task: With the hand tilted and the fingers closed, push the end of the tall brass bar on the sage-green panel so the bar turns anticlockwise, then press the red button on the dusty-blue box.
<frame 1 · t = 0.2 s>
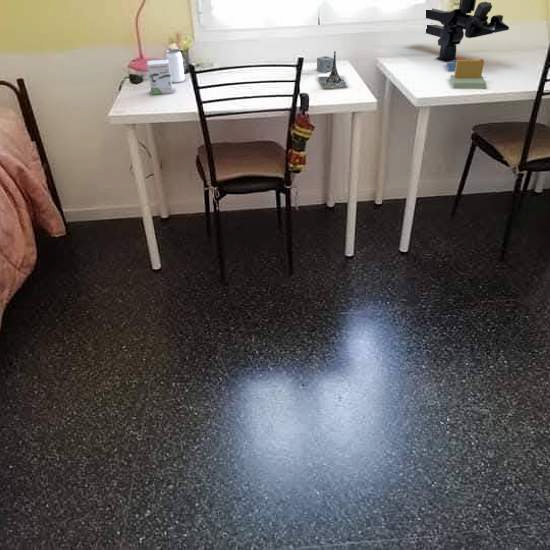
hand: (500, 30, 213), 17 cm above the table, tool horizontal, fingers open, 9 cm apart
dice cube: (325, 70, 233), on the table
red button: (460, 60, 227), point 3 cm above the table, slide at 0.1 cm
brass bar: (468, 68, 211), point 5 cm above the table, hinge at 0.0°
ink box: (162, 92, 217), on the table
can: (177, 81, 228), on the table
button box: (459, 68, 229), on the table
eiffel tower figurine: (332, 83, 219), on the table
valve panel: (467, 84, 212), on the table
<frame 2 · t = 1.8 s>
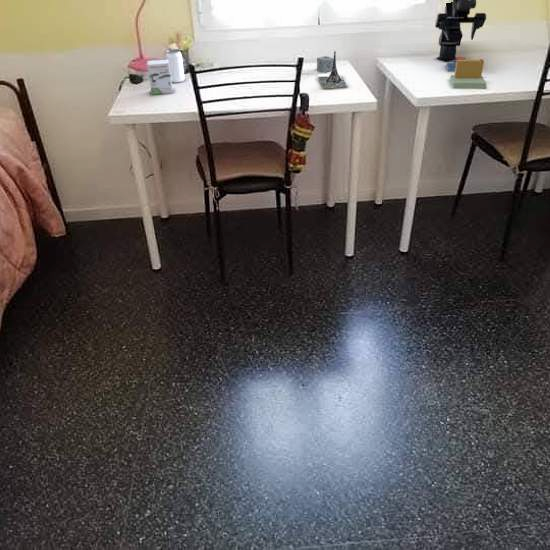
hand: (460, 39, 214), 14 cm above the table, tool tilted 45°, fingers open, 9 cm apart
nothing on the table moved.
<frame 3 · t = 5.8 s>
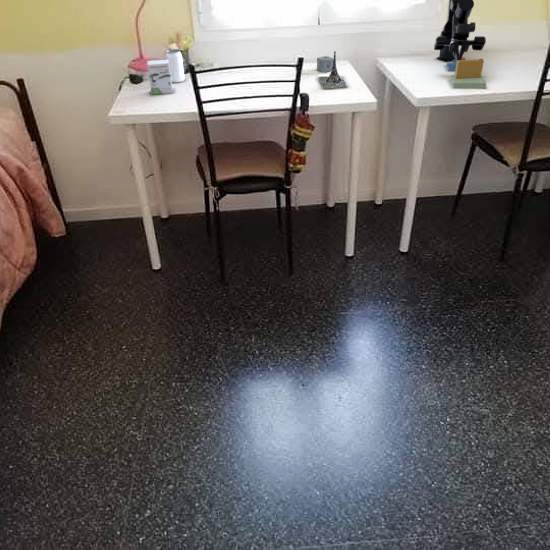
hand: (458, 63, 210), 7 cm above the table, tool tilted 45°, fingers closed
brass bar: (468, 68, 211), point 5 cm above the table, hinge at 11.4°, touching gripper
everything else where it was.
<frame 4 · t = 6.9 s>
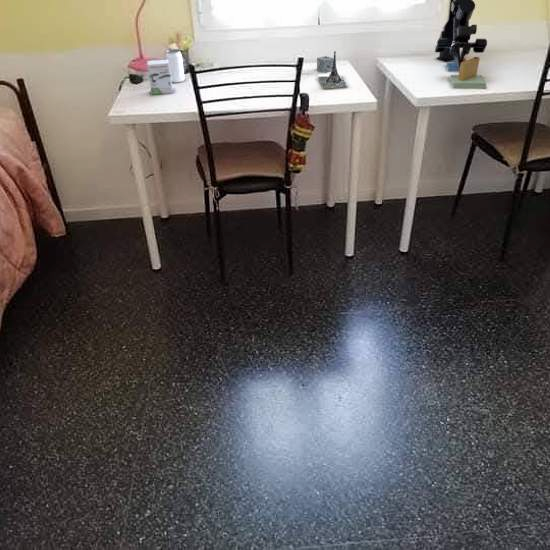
hand: (459, 65, 208), 7 cm above the table, tool tilted 45°, fingers closed
brass bar: (468, 68, 211), point 5 cm above the table, hinge at 49.2°, touching gripper
everything else where it was.
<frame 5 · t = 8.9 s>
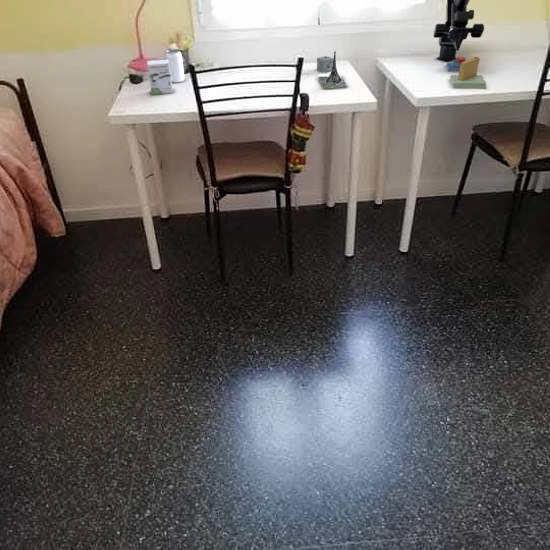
hand: (457, 50, 214), 10 cm above the table, tool tilted 45°, fingers closed
brass bar: (468, 68, 211), point 5 cm above the table, hinge at 49.2°
everything else where it was.
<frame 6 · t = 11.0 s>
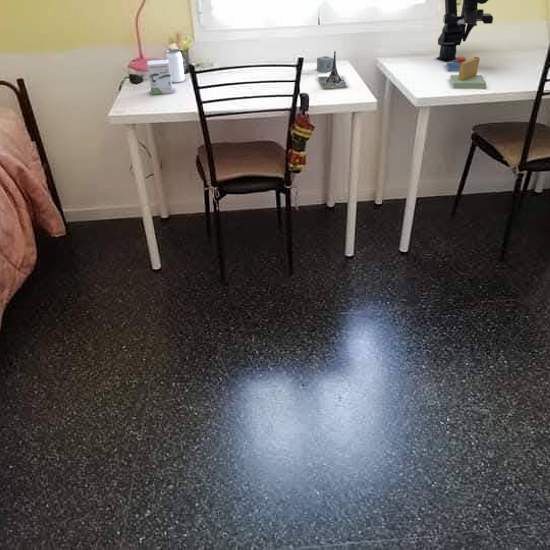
hand: (463, 41, 222), 11 cm above the table, tool pointing down, fingers closed
nothing on the table moved.
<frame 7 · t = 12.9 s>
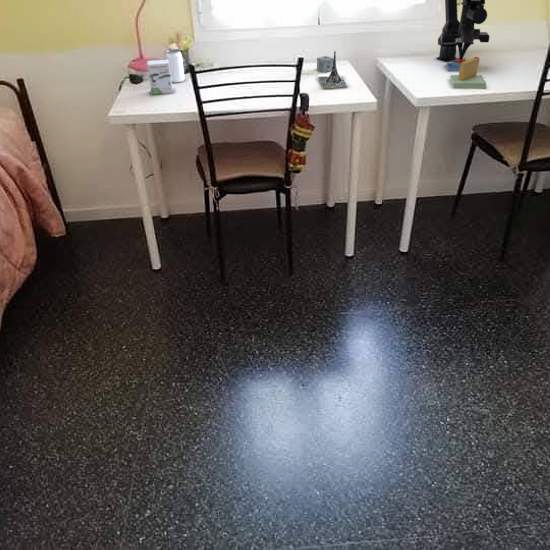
hand: (460, 58, 226), 4 cm above the table, tool pointing down, fingers closed, pressing on red button
red button: (460, 61, 227), point 3 cm above the table, slide at -0.2 cm, touching gripper
everything else where it was.
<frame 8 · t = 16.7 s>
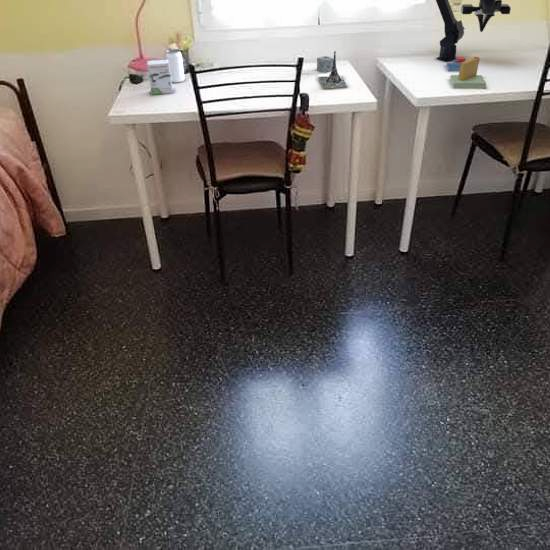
hand: (481, 31, 226), 13 cm above the table, tool pointing down, fingers closed
red button: (460, 60, 227), point 3 cm above the table, slide at 0.1 cm
everything else where it was.
at the end: brass bar at +49° (first picture: +0°); red button pushed in 1.2 cm at the most during the clip, back to where it started at the end; red button slide at 0.1 cm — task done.
